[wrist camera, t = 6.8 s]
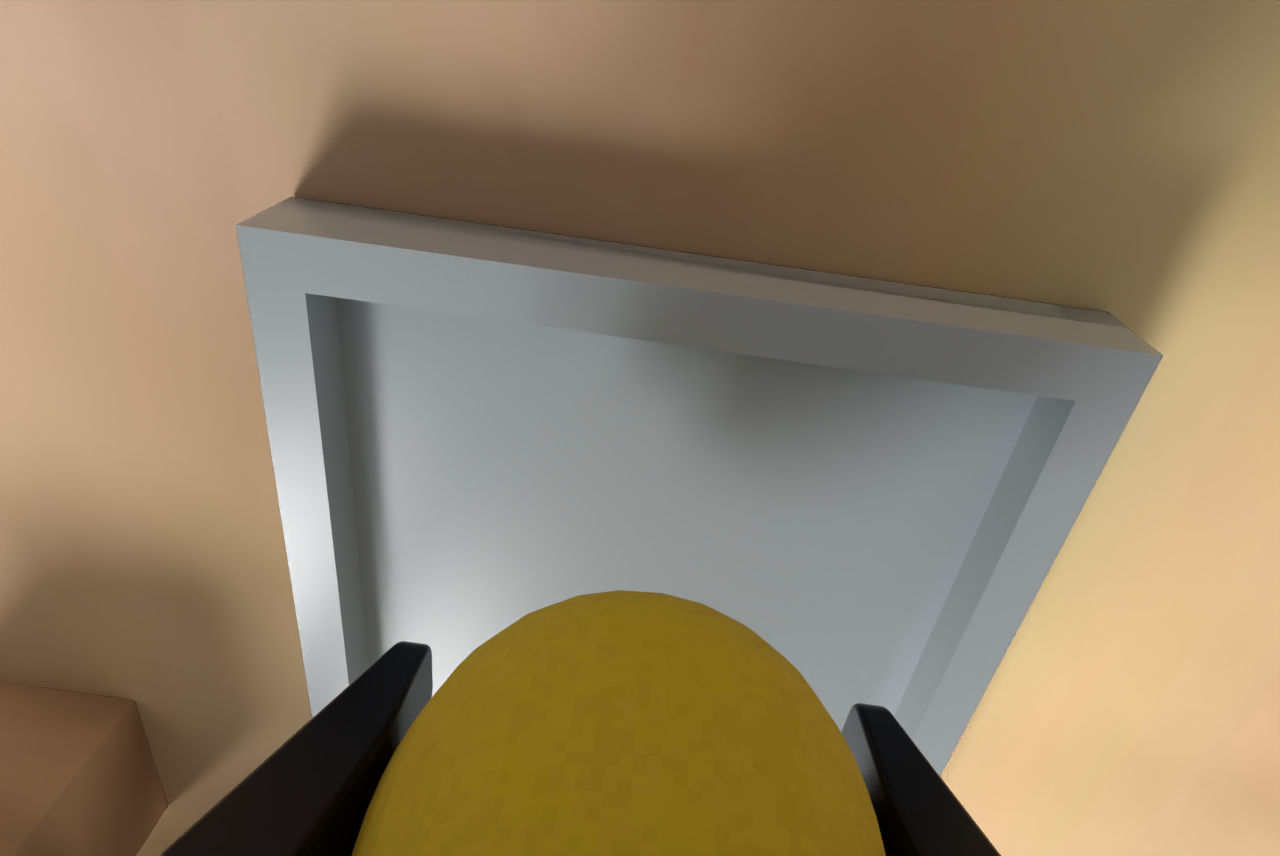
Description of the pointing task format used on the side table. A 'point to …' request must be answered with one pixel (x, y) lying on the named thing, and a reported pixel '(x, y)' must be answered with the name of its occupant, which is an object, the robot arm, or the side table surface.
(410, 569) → the tray
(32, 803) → the walnut block
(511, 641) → the lemon
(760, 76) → the side table surface
